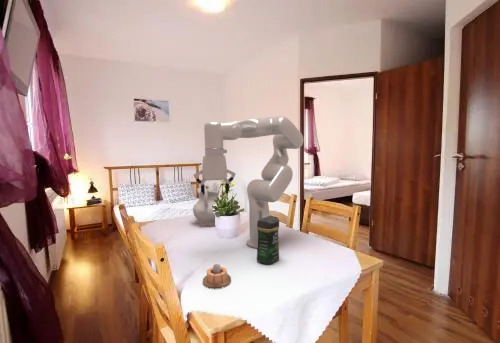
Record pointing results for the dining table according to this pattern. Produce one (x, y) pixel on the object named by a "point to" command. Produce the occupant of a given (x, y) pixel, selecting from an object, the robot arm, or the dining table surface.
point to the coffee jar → (268, 240)
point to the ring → (216, 276)
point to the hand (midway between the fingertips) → (215, 193)
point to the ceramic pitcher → (206, 205)
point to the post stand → (215, 271)
